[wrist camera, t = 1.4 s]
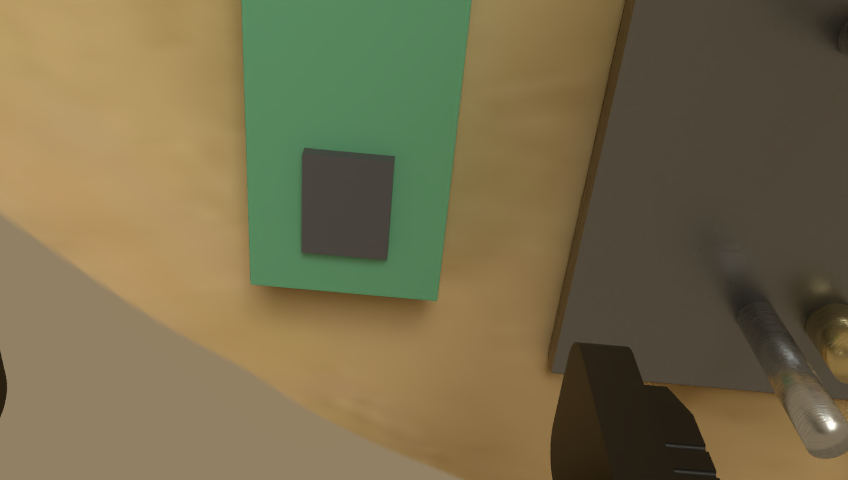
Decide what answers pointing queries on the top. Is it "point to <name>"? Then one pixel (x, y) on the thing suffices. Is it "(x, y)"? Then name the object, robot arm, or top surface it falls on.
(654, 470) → the robot arm
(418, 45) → the board
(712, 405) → the top surface
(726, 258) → the chassis
